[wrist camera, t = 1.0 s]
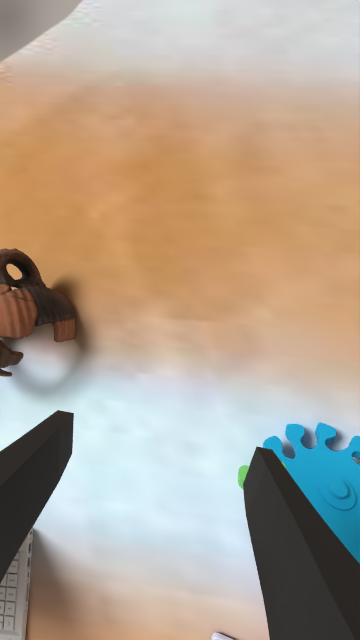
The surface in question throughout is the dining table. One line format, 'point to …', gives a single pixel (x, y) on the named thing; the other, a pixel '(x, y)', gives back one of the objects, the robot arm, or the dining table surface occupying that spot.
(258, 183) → the dining table surface
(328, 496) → the blue knobby piece
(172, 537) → the dining table surface
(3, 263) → the pottery mug
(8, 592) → the laptop
